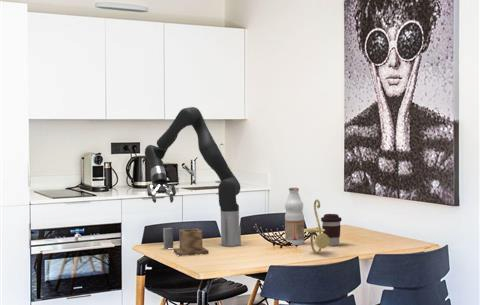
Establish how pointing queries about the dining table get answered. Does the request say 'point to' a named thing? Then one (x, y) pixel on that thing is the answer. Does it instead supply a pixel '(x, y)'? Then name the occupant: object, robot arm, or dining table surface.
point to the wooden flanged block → (190, 243)
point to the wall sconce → (321, 239)
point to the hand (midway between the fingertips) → (163, 201)
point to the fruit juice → (294, 218)
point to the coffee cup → (332, 228)
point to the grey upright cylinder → (168, 237)
